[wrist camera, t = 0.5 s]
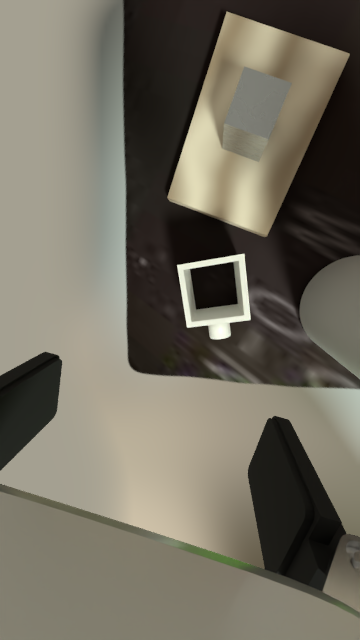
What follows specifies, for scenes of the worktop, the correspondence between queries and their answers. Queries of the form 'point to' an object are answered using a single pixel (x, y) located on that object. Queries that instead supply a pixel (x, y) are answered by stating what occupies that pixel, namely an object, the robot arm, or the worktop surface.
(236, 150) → the block
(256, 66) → the board
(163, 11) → the worktop surface
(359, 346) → the cylinder vase
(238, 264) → the duct collar
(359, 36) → the worktop surface
